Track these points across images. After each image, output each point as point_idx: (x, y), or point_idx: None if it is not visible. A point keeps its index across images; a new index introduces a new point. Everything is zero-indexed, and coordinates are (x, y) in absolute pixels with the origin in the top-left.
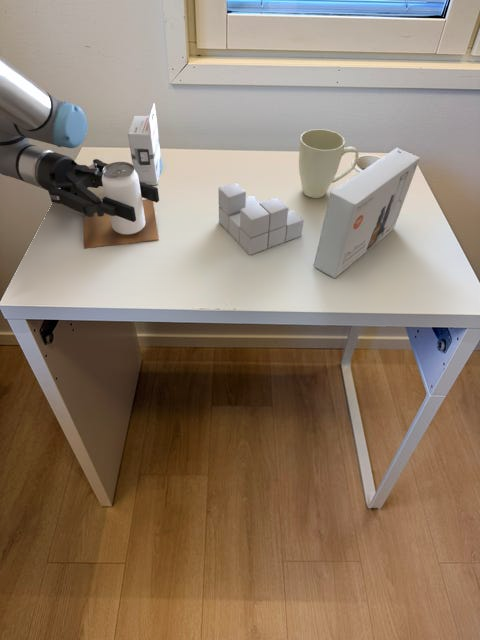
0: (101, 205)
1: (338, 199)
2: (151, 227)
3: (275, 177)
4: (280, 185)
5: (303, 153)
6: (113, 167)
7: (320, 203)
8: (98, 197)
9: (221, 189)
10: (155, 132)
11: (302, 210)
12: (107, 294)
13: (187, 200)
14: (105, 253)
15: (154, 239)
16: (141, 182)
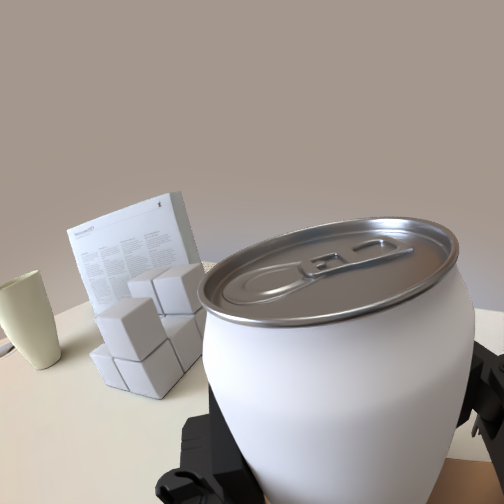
0: (489, 352)
1: (175, 195)
2: None
3: (11, 402)
4: (31, 390)
5: (26, 295)
6: (334, 299)
7: (72, 348)
8: (500, 384)
9: (127, 312)
10: None
11: (90, 351)
12: (489, 327)
13: (101, 493)
14: (477, 434)
15: None
16: (189, 440)
